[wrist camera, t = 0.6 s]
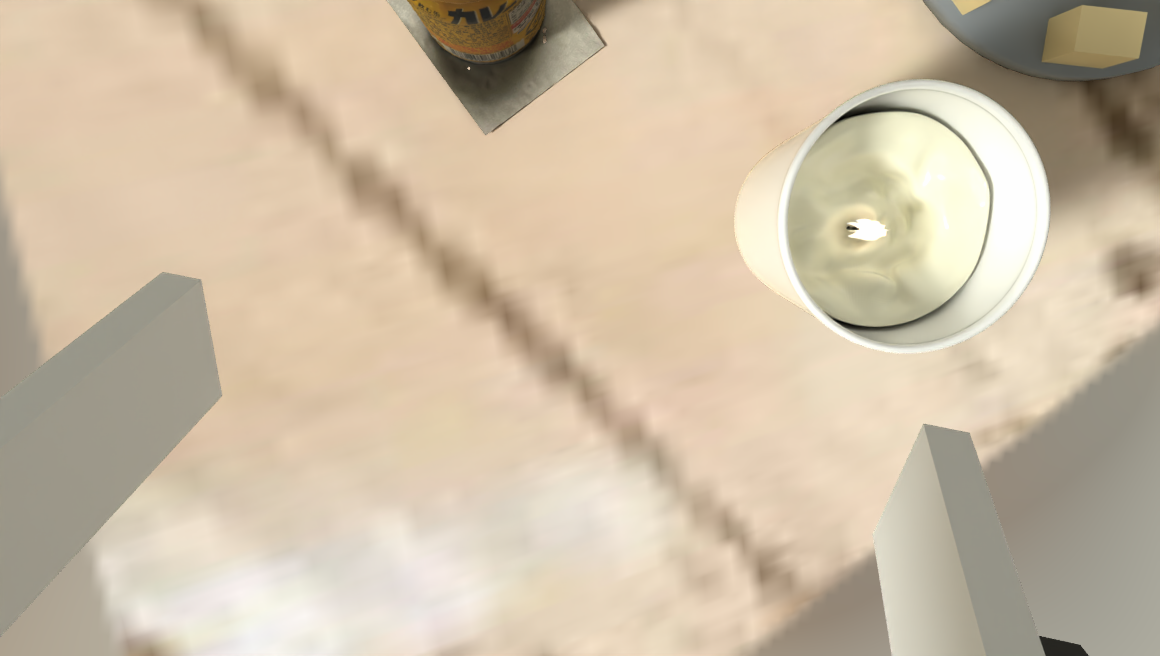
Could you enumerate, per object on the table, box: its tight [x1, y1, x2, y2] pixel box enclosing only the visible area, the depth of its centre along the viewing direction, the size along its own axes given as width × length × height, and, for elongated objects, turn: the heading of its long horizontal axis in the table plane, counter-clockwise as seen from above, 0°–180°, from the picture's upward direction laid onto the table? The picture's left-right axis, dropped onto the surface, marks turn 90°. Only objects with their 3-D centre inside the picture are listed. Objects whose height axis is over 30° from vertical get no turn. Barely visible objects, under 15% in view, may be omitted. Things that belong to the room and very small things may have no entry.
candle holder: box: [734, 79, 1050, 354], centre depth 35 cm, size 10×10×12 cm
